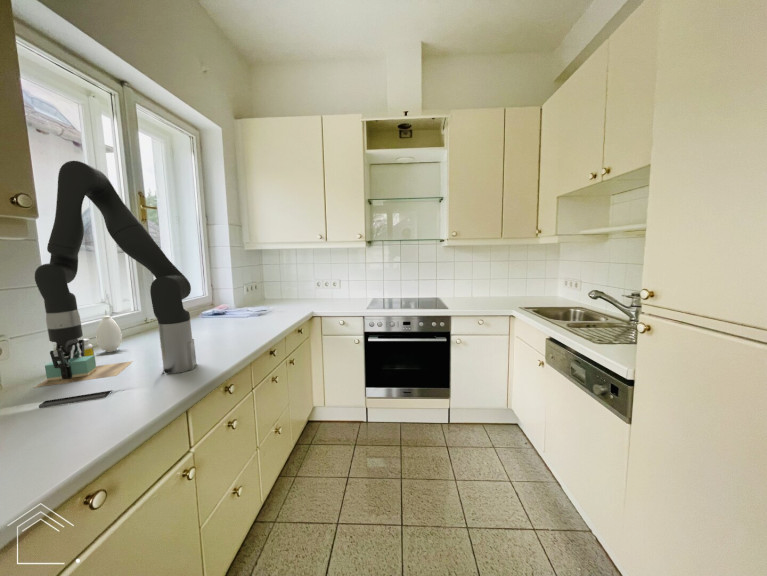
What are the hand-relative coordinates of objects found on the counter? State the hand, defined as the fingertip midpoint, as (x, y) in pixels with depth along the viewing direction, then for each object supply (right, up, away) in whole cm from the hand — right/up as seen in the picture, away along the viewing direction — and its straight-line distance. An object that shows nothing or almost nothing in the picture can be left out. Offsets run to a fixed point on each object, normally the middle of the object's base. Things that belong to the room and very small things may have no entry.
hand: (72, 374), depth 99 cm
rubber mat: (+14, -3, -11) cm, 18 cm away
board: (+4, -1, +2) cm, 4 cm away
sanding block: (0, 0, 0) cm, 0 cm away
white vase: (-13, +1, +28) cm, 31 cm away
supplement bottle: (-9, 0, +13) cm, 15 cm away
